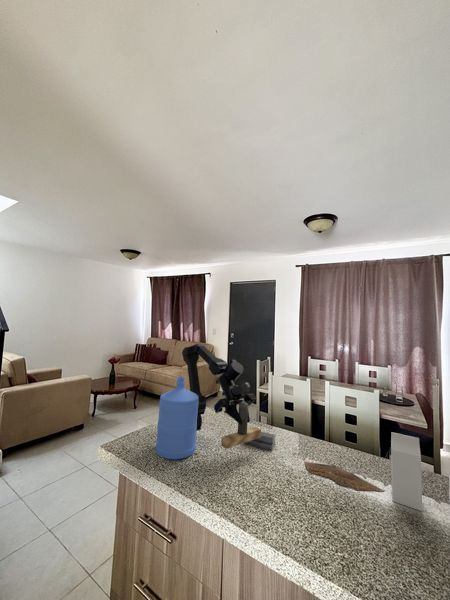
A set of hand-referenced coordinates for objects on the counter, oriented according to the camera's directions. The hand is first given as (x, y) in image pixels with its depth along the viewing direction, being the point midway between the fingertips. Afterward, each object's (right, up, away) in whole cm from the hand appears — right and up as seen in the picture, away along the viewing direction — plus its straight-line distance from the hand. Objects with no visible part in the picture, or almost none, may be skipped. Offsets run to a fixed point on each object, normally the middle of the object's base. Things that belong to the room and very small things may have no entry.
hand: (245, 423), depth 96 cm
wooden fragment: (+33, -15, -9) cm, 37 cm away
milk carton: (+48, -14, -19) cm, 54 cm away
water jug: (-27, -13, +3) cm, 30 cm away
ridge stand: (+7, -15, +12) cm, 21 cm away
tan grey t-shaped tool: (-1, -7, 0) cm, 7 cm away
